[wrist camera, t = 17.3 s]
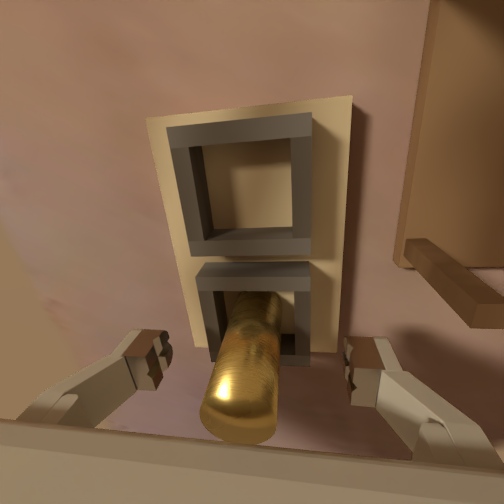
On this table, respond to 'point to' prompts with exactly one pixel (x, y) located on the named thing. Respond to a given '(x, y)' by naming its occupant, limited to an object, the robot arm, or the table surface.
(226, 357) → the pin
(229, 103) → the table surface
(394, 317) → the table surface
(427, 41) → the base
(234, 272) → the tan socket tray
